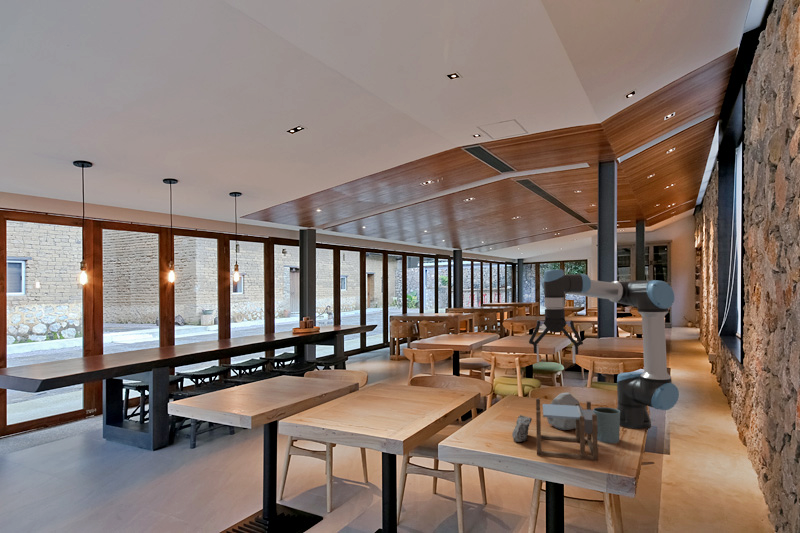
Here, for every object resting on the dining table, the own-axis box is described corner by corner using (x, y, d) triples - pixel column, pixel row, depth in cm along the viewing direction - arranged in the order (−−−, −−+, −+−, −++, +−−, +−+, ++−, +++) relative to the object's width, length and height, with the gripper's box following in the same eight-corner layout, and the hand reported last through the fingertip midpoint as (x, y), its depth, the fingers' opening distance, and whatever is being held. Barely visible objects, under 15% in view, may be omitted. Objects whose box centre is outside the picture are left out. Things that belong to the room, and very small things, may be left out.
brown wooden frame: (591, 441, 191) (590, 401, 191) (597, 460, 170) (596, 415, 171) (536, 437, 196) (536, 398, 197) (536, 455, 176) (536, 411, 177)
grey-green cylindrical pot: (618, 445, 186) (618, 414, 187) (591, 441, 192) (591, 411, 192) (622, 438, 195) (621, 408, 195) (596, 434, 200) (595, 405, 201)
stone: (566, 422, 218) (565, 389, 218) (586, 429, 206) (586, 394, 207) (546, 425, 213) (545, 391, 214) (565, 433, 202) (565, 397, 202)
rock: (525, 445, 185) (527, 419, 187) (504, 441, 189) (506, 415, 191) (535, 441, 199) (536, 416, 201) (515, 437, 203) (517, 413, 205)
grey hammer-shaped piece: (592, 421, 189) (592, 406, 189) (598, 435, 172) (597, 418, 173) (542, 418, 194) (542, 403, 194) (543, 430, 178) (543, 414, 178)
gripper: (587, 307, 189) (588, 361, 188) (522, 307, 195) (523, 359, 194) (589, 308, 181) (590, 364, 181) (521, 308, 188) (523, 362, 187)
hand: (555, 362), depth 187 cm, fingers open, 13 cm apart
